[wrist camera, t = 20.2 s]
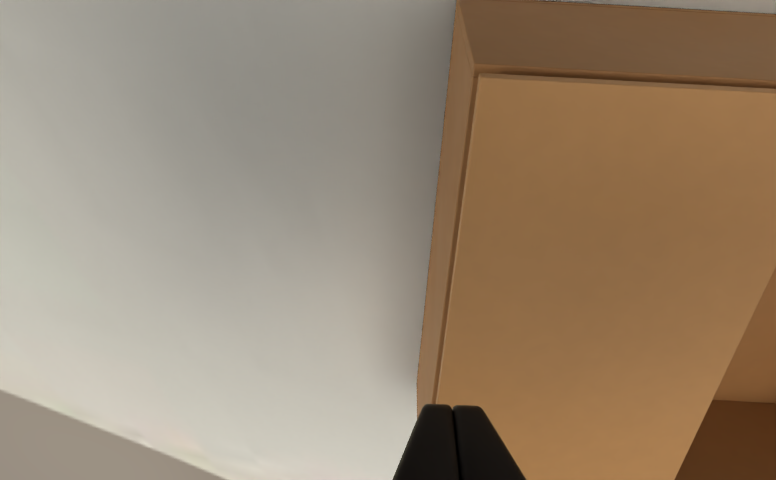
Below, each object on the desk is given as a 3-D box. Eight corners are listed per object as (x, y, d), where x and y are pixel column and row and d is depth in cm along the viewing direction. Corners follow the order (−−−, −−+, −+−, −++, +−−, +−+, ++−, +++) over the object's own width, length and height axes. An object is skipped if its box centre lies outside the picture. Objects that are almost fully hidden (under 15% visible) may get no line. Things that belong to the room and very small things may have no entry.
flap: (420, 518, 22) (420, 526, 22) (478, 72, 13) (480, 77, 13) (645, 527, 22) (648, 536, 22) (848, 92, 13) (857, 97, 13)
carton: (416, 382, 27) (418, 508, 22) (457, -5, 18) (473, 63, 14) (787, 403, 27) (869, 532, 22) (1003, 26, 18) (1213, 105, 14)
